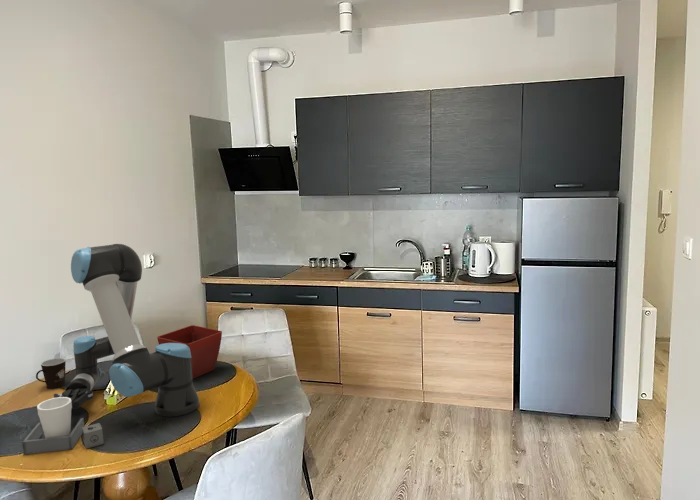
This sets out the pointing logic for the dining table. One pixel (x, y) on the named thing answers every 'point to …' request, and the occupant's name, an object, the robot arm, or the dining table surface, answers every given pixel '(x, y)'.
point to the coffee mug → (53, 373)
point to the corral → (51, 440)
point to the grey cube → (92, 435)
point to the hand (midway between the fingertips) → (57, 416)
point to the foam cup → (55, 416)
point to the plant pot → (197, 346)
